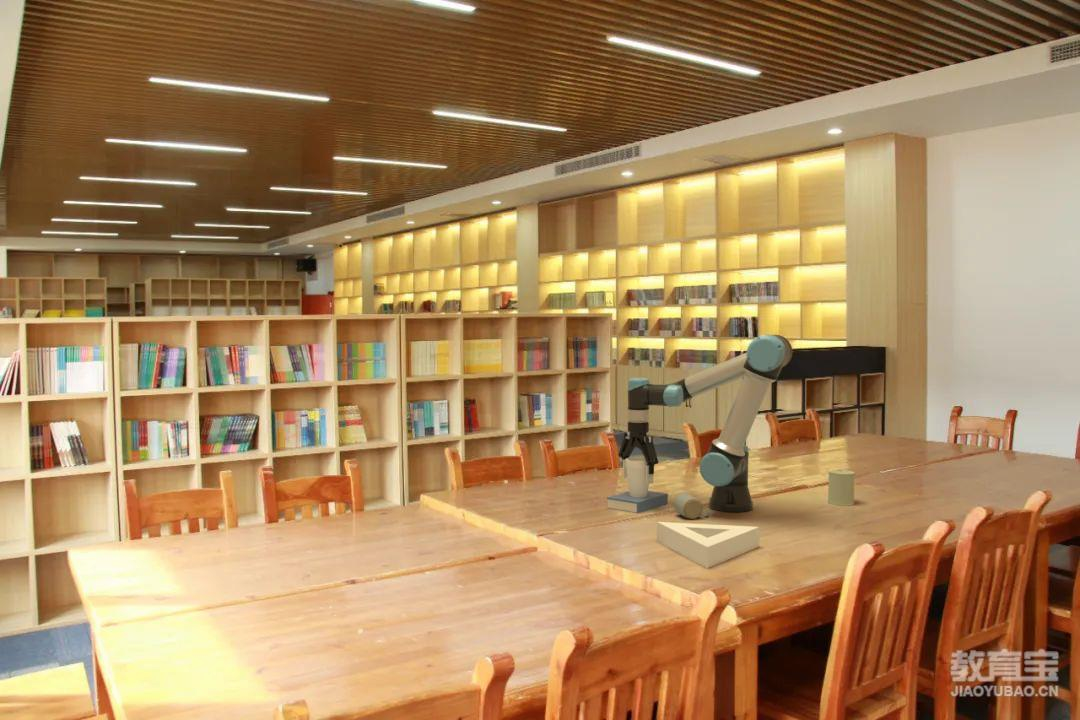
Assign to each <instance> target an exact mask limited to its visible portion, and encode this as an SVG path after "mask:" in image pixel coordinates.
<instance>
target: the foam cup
mask: <svg viewBox="0 0 1080 720" xmlns="http://www.w3.org/2000/svg"><path fill="white" fill-rule="evenodd" d="M650 462H651V461H650ZM646 465H647V462H646V459H645V457H639V456H638V457H637V456H635V457H630V458H627V459H626V468H627V477H626V478H627V484H628V485H627V486H628V492H629V494H630V496H632V497H646V496H647V494H648V491H649V486H650V484H646Z"/></svg>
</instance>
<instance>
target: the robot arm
mask: <svg viewBox="0 0 1080 720" xmlns="http://www.w3.org/2000/svg"><path fill="white" fill-rule="evenodd" d="M792 358H793V346H792V344H791V343H790V341H789V340H788V339H787V338H785V337H784V336H783V335H779V334H762V335H760V336H757V337H755V338H754V339H753V340H751V342H749V344H748V346H747V348H746V352H745V353H743V354H740V355H737V356H735V357H732V358H730V359H728V360H726V361H723V362H721V363H719V364H716V365H714V366H713V365H712V366H711V367H709V368H706V369H704V370H702V371H699V372H697V373H694V374H692V375H690V376H687V377H685V378H683V379H680V380H678V381H676V382H673V383H665V384H652V383H651V382H650V379H649V378H646V377H631V378H629V380H628V384H627V420H628V422H627V432H624V433H623V439H622V442H621V446H620V449H619V452H618V457H620V458H621V459H622V478H628V477H627V468H626V459H627V458H631V457H630V456H631V455H632V453H633V451H634V450H635V448H638V449H639V450H640V451H641V453H642V455H643V458H645V459H646V462H647V465H646V484H649V485H650V484H654V474H655V465H657V464H659V460H658V456H657V452H656V449H655V445H654V439H653V438H654V437H653V436H647V434H648V433H649V430H650V423H649V419H650V415H649V414H650V411H649V409H650V406H656V407H657V406H659V407H670V408H673V407H680V406H681V405H682V404H683V403H685V402H687V401H688V400H690V399H693V398H695V397H697V396H700V395H703V394H705V393H707V392H711V391H713V390H716V389H717V388H719V387H722V386H725V385H727V384H730V383H732V382H735V381H737V380H739V379H742V378H743V379H742V380H741V383H740V385H739V389H738V391H737V393H736V396H735V398H734V400H733V403H732V405H731V407H730V410H729V411H728V414H727V417H726V419H725V422H724V424H723V426H722V429H721V431H720V433H719V437H718V438H715V439H713V440H712V441H711V443H710V446H709V449H708V451H707V453H706V454H705V455H704V456H703V457H702V459H701V460H700V462H699V473H700V475H701V477H702V479H703V480H704V482H706V483H707V484H709V485H710V486H713V489H712V493H711V496H710V498H709V500H708V503H709V504H708V505H709V508H710V509H712V510H715V511H720V512H729V513H739V512H740V513H743V512H744V513H745V512H749V511H751V510H753V506H754V505H753V504H754V502H753V500H752V497H751V493H750V492H751V491H750V489H749V455H750V453H749V447H748V445H746V444H745V443H746V441H747V439H748V437H749V434H750V432H751V429H752V427H753V425H754V423H755V419H756V418H757V416H758V413H759V411H760V408H761V406H762V404H763V401H764V398H765V396H766V394H767V392H768V389H769V387H770V385H771V384H772V383H774V382H776V381H777V380H778V377H779V375H780V373H781V371H782V368H783V367H785V366H786V365H788V363H789V362H790V361H791V359H792ZM650 461H651V462H650Z"/></svg>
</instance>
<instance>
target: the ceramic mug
mask: <svg viewBox="0 0 1080 720" xmlns="http://www.w3.org/2000/svg"><path fill="white" fill-rule="evenodd" d="M673 508H674V511H675V512H676V513H677V514H678V515H680V516H683V517H684V518H686V519H689V520H694V519H697V518H699V517H700V516H702V517H705V518H707V517H708V515H709V513H708V512H707V511H705V510H703V505H702V503H701V501H700V500H699V499H698V498H697V497H694V496H693V495H691V494H690V493H689V492H682V493H679V494H678V495H677V496H676V497H675V498H674V501H673Z"/></svg>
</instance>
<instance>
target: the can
mask: <svg viewBox="0 0 1080 720" xmlns="http://www.w3.org/2000/svg"><path fill="white" fill-rule="evenodd" d="M827 472H828V491H827V492H828V494H827V495H828V496H827V503H828V504H830V505H835V506H844V507H845V506H849V507H850V506H854V505H855V474H856V473H855V472H854V471H853V470H846V469H830V470H828V471H827Z"/></svg>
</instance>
